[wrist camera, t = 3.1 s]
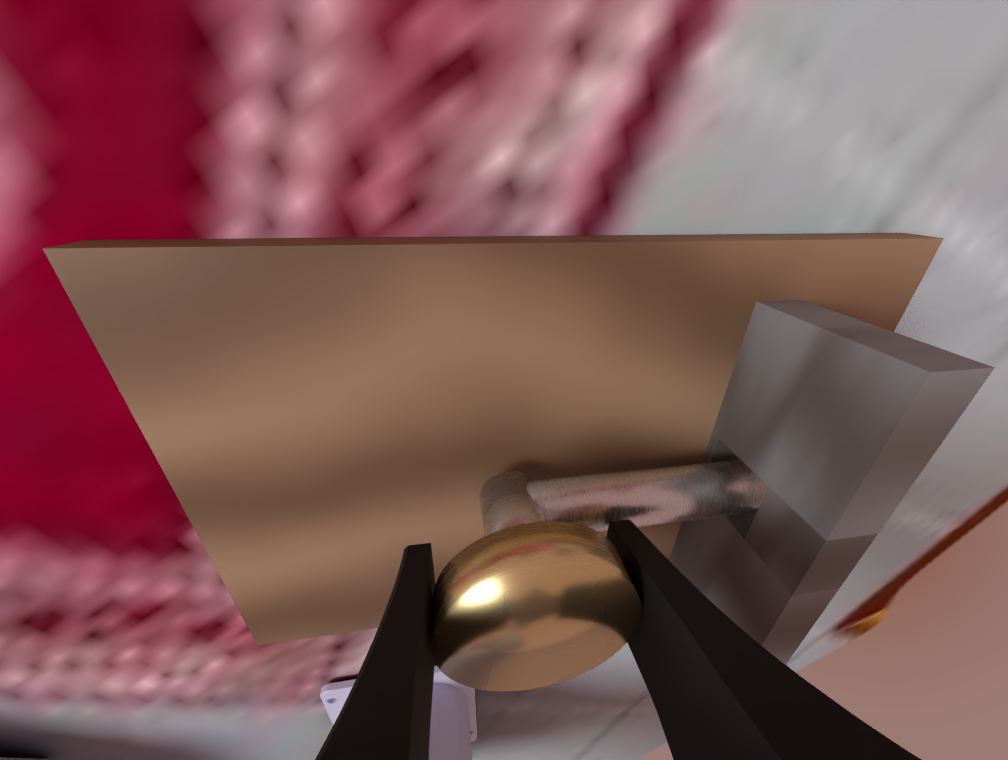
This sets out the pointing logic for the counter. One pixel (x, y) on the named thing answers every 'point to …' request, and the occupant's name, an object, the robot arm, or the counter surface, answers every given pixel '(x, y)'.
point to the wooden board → (519, 398)
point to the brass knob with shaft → (563, 569)
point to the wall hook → (2, 759)
